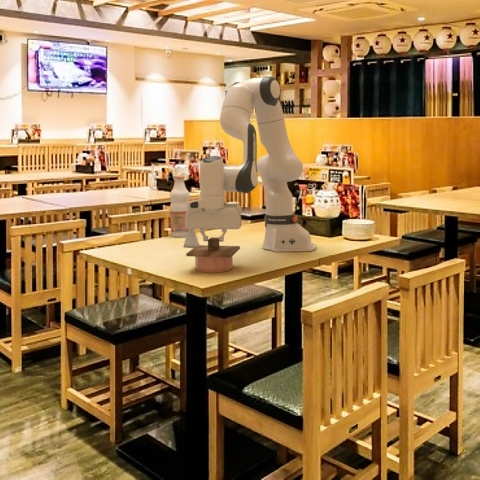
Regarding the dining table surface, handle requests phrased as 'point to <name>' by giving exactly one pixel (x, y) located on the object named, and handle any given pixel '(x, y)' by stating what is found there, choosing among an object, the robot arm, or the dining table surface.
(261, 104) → the robot arm
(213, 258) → the bowl
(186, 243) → the flask
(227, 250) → the lid
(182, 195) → the fruit juice
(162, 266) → the dining table surface
